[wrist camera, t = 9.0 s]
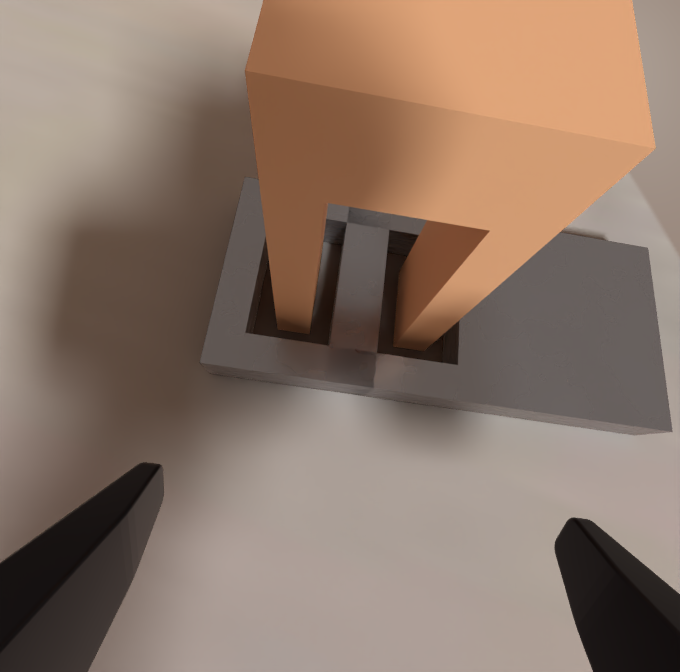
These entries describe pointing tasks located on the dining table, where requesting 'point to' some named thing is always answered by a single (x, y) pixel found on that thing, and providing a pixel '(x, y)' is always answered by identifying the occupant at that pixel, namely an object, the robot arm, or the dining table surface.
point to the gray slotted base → (462, 329)
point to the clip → (439, 135)
